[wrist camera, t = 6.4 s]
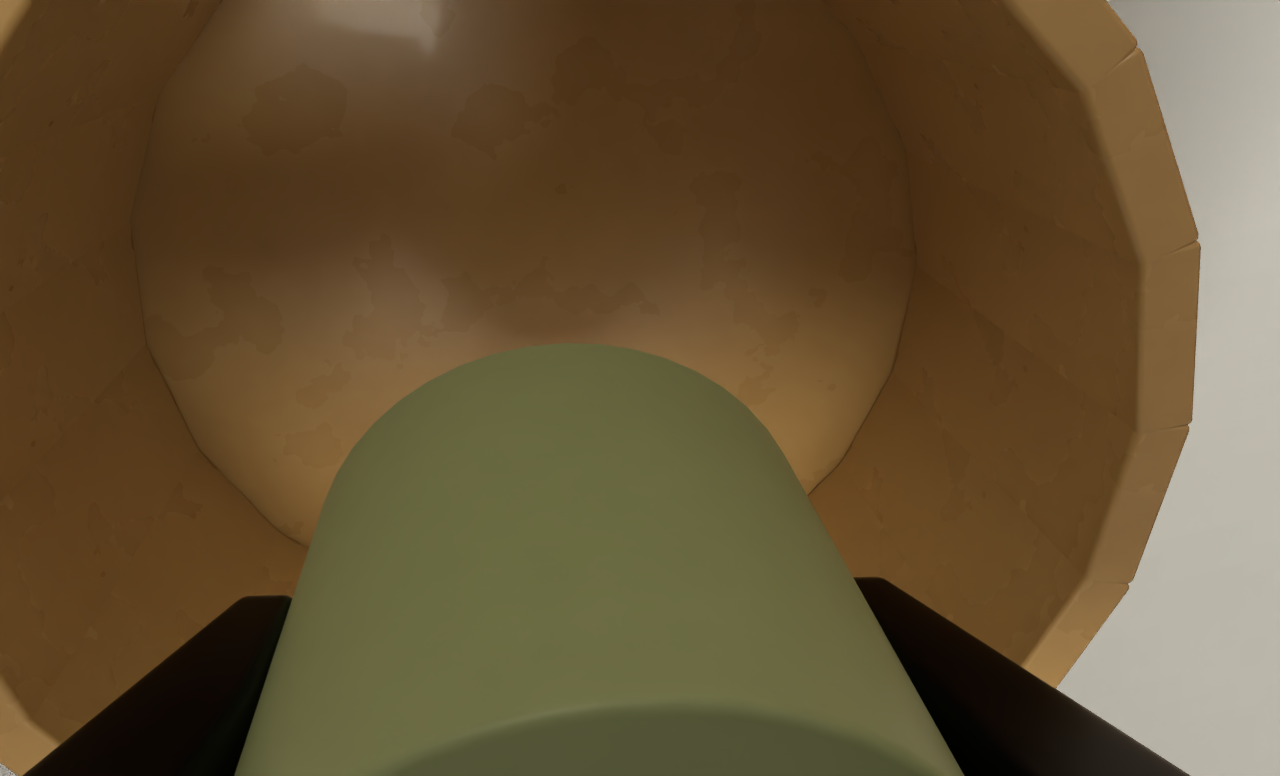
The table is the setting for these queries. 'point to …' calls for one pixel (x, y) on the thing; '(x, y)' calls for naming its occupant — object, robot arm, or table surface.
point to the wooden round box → (576, 284)
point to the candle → (580, 594)
